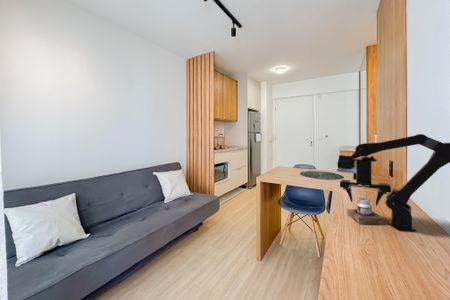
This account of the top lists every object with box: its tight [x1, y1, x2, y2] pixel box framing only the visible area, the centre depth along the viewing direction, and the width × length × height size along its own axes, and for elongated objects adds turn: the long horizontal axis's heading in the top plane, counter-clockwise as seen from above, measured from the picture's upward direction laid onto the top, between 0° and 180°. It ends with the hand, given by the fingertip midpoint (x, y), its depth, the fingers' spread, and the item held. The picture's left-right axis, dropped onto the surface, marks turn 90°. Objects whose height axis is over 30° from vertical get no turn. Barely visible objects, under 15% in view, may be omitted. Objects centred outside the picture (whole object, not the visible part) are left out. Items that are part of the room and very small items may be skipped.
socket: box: [346, 208, 385, 225], centre depth 89 cm, size 10×10×3 cm
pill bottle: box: [356, 197, 373, 216], centre depth 89 cm, size 5×5×10 cm
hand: (363, 203), depth 89 cm, fingers open, 9 cm apart
